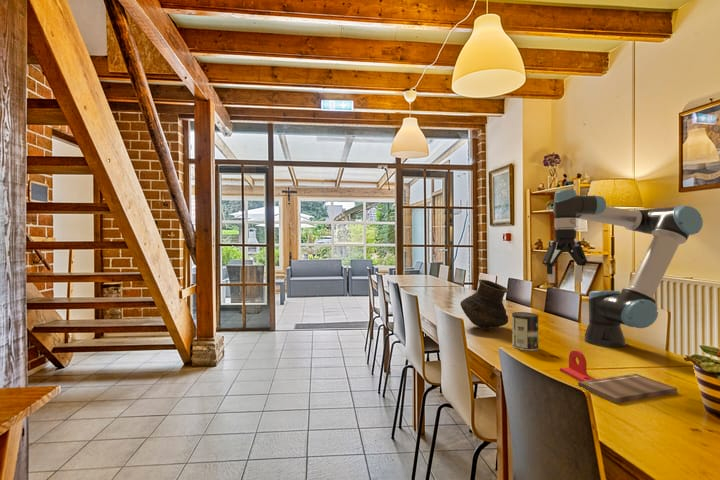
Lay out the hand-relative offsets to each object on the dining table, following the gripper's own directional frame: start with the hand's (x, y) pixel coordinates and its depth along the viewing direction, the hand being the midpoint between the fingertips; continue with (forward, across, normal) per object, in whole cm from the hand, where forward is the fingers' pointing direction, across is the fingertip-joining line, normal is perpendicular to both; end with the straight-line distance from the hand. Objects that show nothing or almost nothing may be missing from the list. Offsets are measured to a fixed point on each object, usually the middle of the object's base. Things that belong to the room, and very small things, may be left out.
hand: (565, 282), depth 144 cm
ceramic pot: (+29, -5, +46) cm, 55 cm away
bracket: (+29, -16, -21) cm, 39 cm away
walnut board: (+29, -11, -33) cm, 45 cm away
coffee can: (+29, -9, +12) cm, 33 cm away
